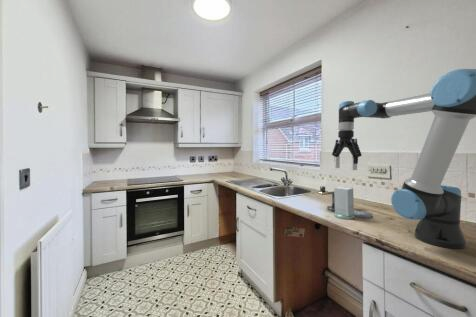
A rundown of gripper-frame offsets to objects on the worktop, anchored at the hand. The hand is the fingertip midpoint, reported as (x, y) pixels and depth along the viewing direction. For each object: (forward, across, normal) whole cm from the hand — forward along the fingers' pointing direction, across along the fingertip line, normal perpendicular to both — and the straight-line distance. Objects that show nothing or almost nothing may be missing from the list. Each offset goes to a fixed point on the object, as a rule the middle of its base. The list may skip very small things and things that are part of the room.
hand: (345, 169), depth 116 cm
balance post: (+27, +14, -4) cm, 30 cm away
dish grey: (+27, 0, -11) cm, 29 cm away
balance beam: (+16, +14, -4) cm, 22 cm away
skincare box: (+26, 0, 0) cm, 26 cm away
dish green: (+27, 0, 0) cm, 27 cm away
